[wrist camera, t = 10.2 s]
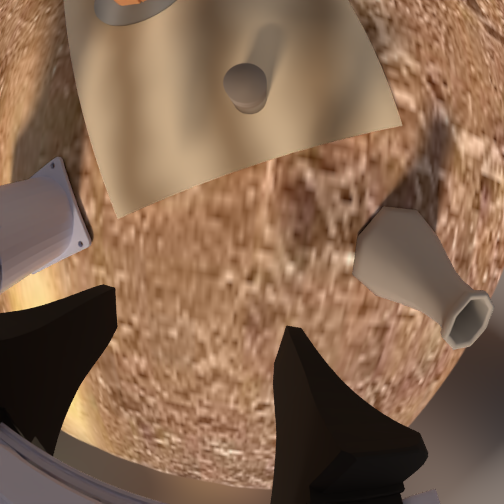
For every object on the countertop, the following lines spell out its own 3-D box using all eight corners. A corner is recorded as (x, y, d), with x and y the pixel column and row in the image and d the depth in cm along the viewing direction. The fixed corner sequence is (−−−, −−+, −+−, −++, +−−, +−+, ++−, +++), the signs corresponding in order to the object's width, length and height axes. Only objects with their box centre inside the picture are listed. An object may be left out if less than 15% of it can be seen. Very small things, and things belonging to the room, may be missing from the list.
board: (127, 214, 19) (86, 235, 14) (72, 3, 13) (38, -16, 7) (393, 127, 16) (434, 120, 11) (281, -77, 10) (283, -113, 4)
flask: (376, 188, 18) (464, 223, 8) (446, 227, 18) (532, 276, 9) (335, 279, 20) (380, 372, 11) (407, 305, 21) (466, 384, 11)
